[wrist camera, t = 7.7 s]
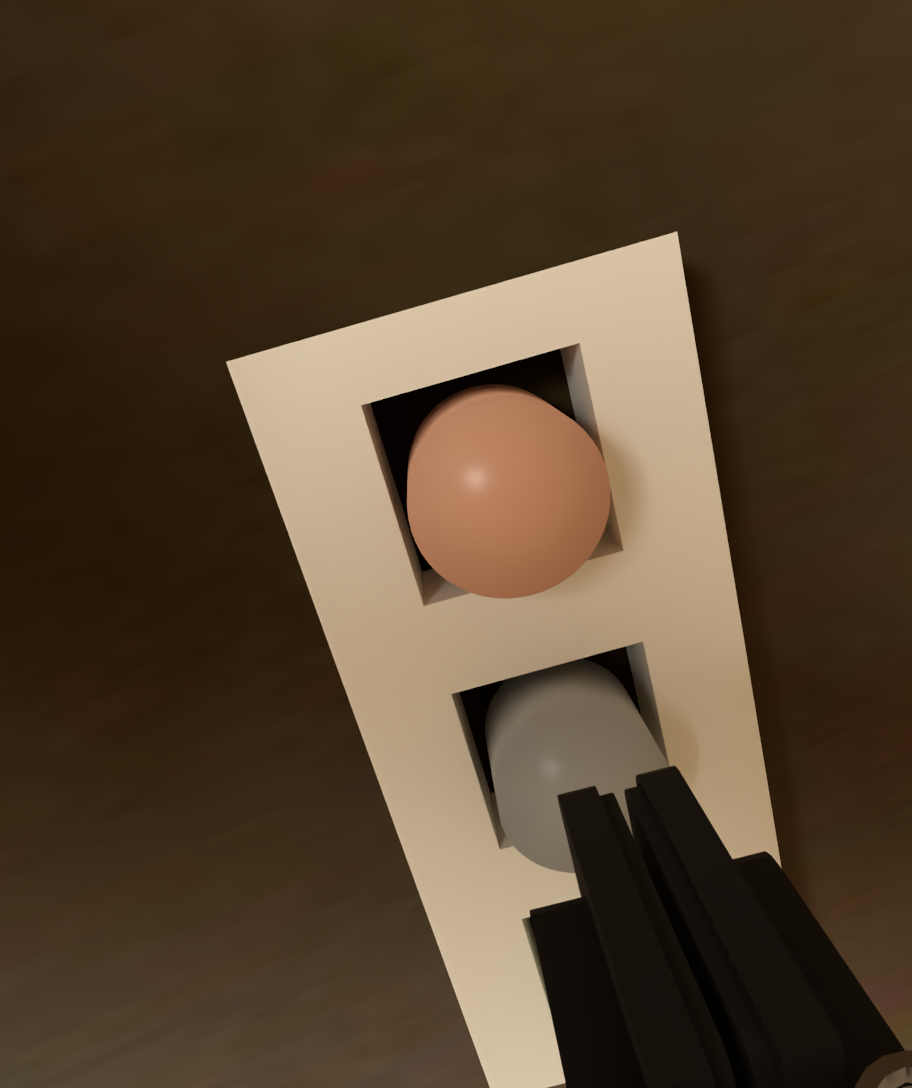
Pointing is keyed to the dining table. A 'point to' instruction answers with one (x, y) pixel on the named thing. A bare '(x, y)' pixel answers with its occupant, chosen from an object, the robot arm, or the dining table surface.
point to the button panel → (517, 623)
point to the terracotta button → (505, 492)
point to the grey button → (562, 751)
